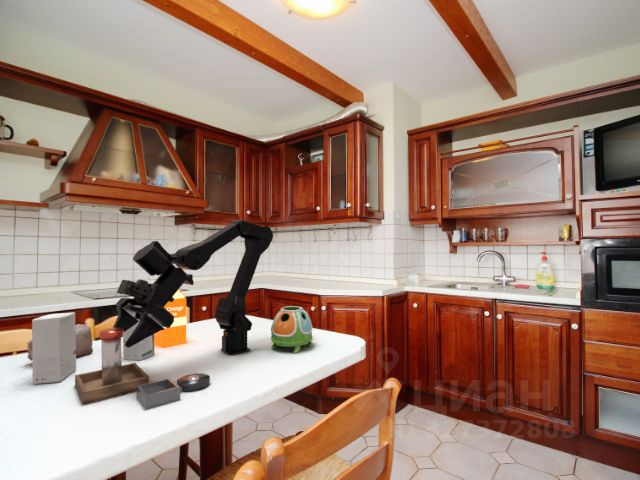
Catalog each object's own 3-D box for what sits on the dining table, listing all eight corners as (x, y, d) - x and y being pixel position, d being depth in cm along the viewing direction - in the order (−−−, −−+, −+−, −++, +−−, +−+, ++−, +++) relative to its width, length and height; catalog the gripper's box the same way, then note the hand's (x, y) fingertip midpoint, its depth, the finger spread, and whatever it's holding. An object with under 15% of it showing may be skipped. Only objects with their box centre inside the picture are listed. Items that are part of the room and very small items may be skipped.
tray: (135, 373, 87) (135, 362, 87) (149, 388, 77) (149, 376, 77) (74, 386, 79) (75, 375, 79) (82, 405, 69) (82, 392, 69)
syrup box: (140, 361, 95) (140, 307, 96) (122, 359, 97) (121, 306, 97) (154, 354, 101) (154, 303, 101) (136, 353, 102) (136, 303, 102)
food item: (44, 369, 90) (44, 330, 90) (24, 365, 93) (24, 328, 93) (95, 353, 102) (95, 319, 103) (77, 350, 105) (77, 317, 105)
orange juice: (175, 338, 119) (175, 278, 119) (186, 343, 112) (186, 280, 113) (151, 342, 113) (151, 280, 113) (161, 348, 107) (161, 282, 107)
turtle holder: (323, 339, 116) (323, 303, 116) (301, 355, 99) (301, 313, 99) (289, 336, 120) (289, 301, 121) (262, 351, 104) (262, 310, 104)
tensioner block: (202, 376, 84) (202, 366, 84) (218, 388, 77) (218, 376, 77) (133, 394, 74) (133, 382, 74) (145, 409, 67) (145, 396, 67)
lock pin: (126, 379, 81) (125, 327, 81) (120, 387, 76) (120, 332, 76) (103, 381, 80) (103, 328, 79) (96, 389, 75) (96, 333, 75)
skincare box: (60, 382, 81) (60, 317, 81) (30, 385, 79) (30, 319, 80) (77, 369, 89) (77, 311, 89) (49, 372, 88) (49, 312, 88)
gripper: (124, 265, 89) (73, 316, 80) (160, 268, 77) (105, 329, 69) (155, 292, 95) (111, 343, 87) (193, 299, 83) (146, 358, 75)
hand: (117, 342), depth 79 cm, fingers open, 9 cm apart
